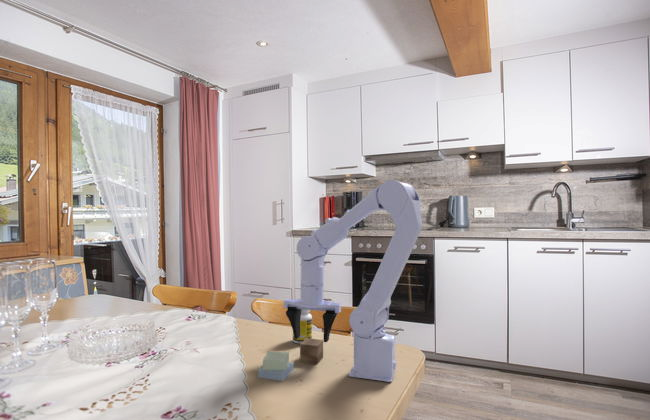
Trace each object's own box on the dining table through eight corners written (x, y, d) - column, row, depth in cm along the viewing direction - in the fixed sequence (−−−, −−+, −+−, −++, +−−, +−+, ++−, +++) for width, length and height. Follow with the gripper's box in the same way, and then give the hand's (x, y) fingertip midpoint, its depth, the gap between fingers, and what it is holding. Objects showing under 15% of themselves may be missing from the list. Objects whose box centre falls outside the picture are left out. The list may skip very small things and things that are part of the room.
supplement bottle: (309, 345, 102) (309, 309, 102) (290, 343, 103) (290, 308, 103) (313, 338, 107) (313, 304, 108) (295, 337, 108) (296, 303, 109)
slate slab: (293, 372, 86) (293, 362, 86) (283, 383, 80) (283, 373, 80) (269, 368, 87) (269, 359, 87) (258, 379, 82) (258, 369, 82)
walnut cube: (323, 357, 93) (323, 339, 93) (317, 364, 89) (317, 345, 89) (306, 355, 95) (306, 338, 95) (300, 362, 90) (300, 343, 90)
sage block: (288, 361, 86) (288, 352, 86) (285, 370, 81) (285, 360, 81) (267, 361, 86) (267, 351, 86) (262, 369, 81) (262, 359, 81)
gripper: (344, 283, 94) (343, 337, 94) (291, 279, 98) (290, 331, 98) (337, 288, 87) (336, 346, 87) (280, 284, 91) (279, 339, 91)
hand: (311, 339), depth 92 cm, fingers open, 7 cm apart
